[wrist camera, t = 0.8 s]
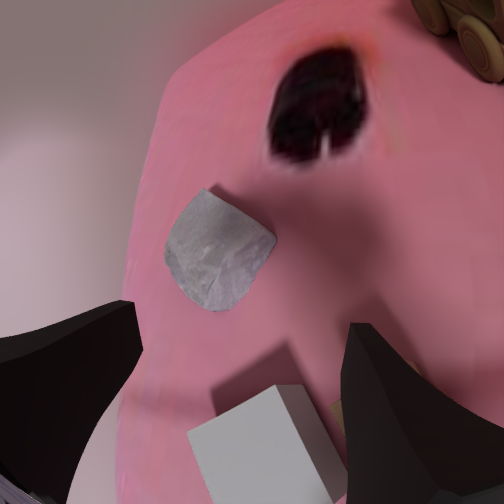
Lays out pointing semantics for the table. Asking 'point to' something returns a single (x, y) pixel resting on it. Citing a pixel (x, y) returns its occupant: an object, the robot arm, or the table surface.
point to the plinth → (270, 452)
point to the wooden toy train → (470, 30)
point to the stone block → (216, 251)
